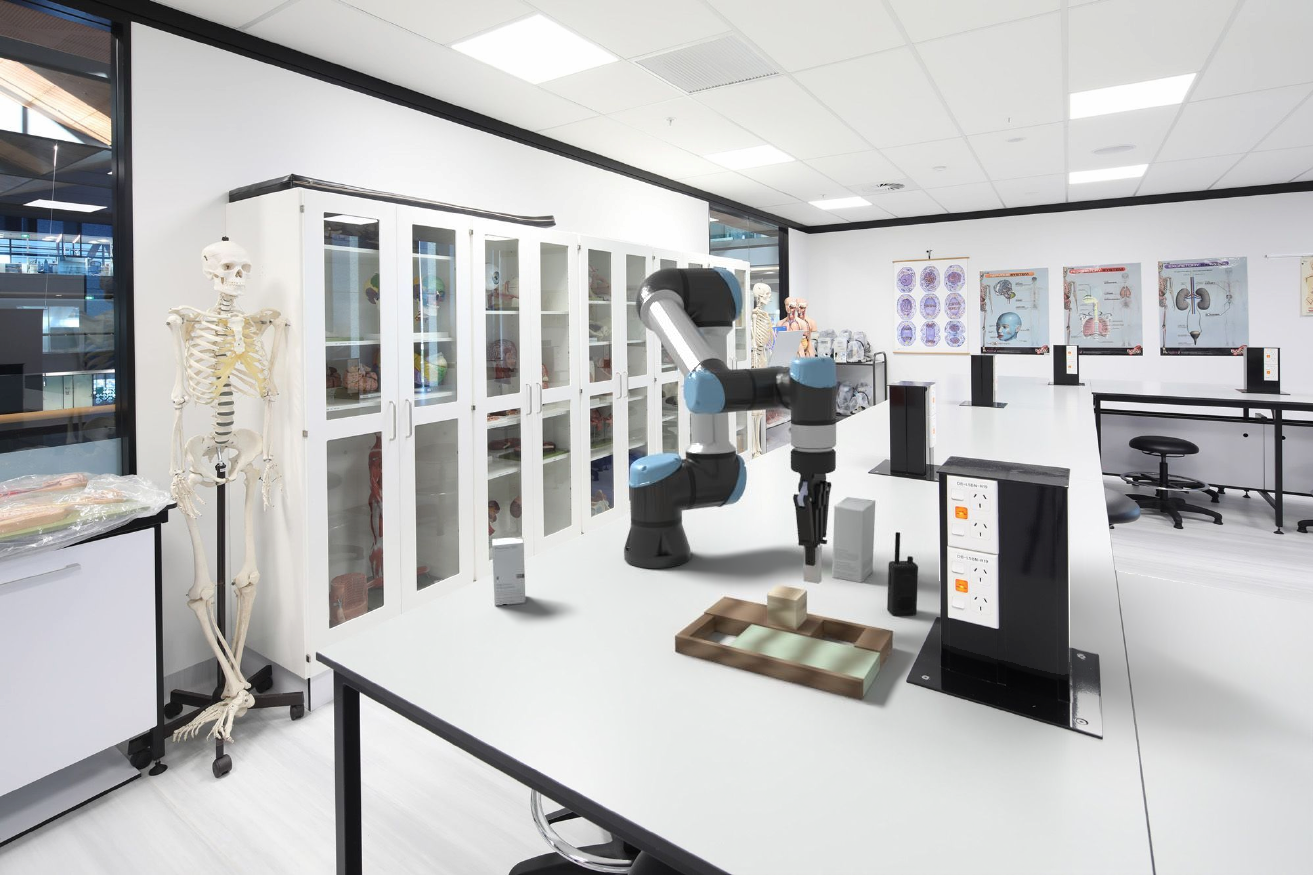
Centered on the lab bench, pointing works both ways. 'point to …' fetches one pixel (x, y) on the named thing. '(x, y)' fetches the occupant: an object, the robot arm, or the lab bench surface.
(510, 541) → the skincare box
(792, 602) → the block
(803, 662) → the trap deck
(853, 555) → the skincare box
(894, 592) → the walkie-talkie
